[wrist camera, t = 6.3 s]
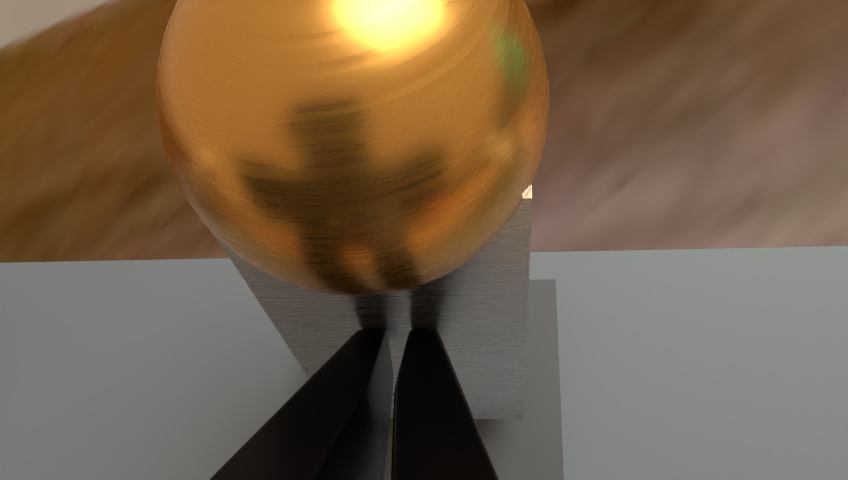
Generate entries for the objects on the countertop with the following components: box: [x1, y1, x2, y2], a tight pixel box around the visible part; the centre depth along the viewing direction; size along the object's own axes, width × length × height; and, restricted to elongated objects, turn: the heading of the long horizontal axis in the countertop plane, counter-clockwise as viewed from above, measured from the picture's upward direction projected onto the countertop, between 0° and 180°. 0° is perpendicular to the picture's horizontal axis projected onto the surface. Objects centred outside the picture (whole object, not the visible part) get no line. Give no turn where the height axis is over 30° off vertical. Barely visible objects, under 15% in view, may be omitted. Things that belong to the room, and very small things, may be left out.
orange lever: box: [156, 0, 549, 420], centre depth 9 cm, size 4×4×9 cm
